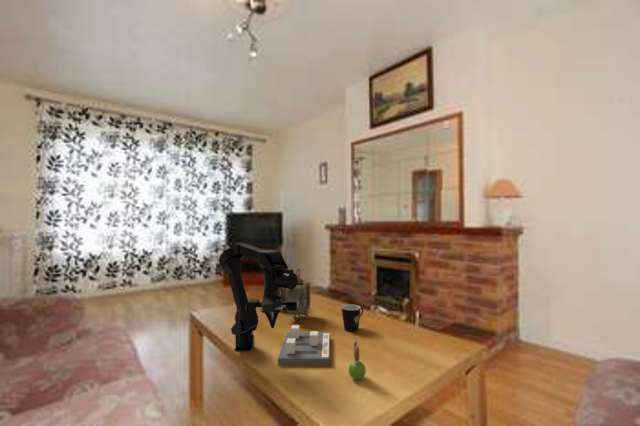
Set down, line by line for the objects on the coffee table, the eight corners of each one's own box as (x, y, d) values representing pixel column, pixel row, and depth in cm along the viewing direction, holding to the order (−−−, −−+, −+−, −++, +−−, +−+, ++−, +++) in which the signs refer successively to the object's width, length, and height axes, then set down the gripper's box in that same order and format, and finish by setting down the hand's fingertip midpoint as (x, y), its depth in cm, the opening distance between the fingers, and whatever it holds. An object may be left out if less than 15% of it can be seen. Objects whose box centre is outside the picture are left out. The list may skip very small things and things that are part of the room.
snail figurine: (363, 372, 109) (363, 336, 109) (367, 382, 102) (366, 344, 102) (347, 372, 109) (346, 337, 108) (349, 383, 102) (349, 345, 102)
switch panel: (278, 365, 114) (277, 357, 114) (287, 338, 138) (287, 332, 138) (329, 365, 114) (329, 358, 114) (329, 338, 138) (329, 332, 138)
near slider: (286, 353, 117) (286, 342, 117) (287, 349, 121) (287, 338, 121) (294, 353, 117) (294, 342, 117) (295, 349, 121) (295, 338, 121)
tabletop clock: (303, 324, 155) (302, 271, 155) (285, 323, 157) (284, 271, 157) (310, 314, 170) (309, 266, 169) (293, 313, 171) (292, 266, 171)
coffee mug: (345, 333, 143) (345, 311, 143) (339, 327, 151) (338, 305, 151) (370, 330, 146) (369, 308, 146) (362, 324, 154) (362, 303, 154)
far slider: (291, 338, 131) (291, 328, 131) (292, 334, 135) (292, 325, 135) (298, 338, 131) (298, 328, 131) (299, 334, 135) (299, 325, 135)
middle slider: (309, 345, 124) (309, 335, 124) (310, 341, 128) (310, 331, 128) (317, 345, 124) (317, 335, 124) (318, 341, 128) (318, 331, 128)
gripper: (240, 291, 112) (241, 336, 112) (295, 290, 111) (295, 336, 111) (249, 283, 123) (249, 325, 123) (298, 283, 122) (299, 325, 122)
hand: (272, 328), depth 120 cm, fingers closed
